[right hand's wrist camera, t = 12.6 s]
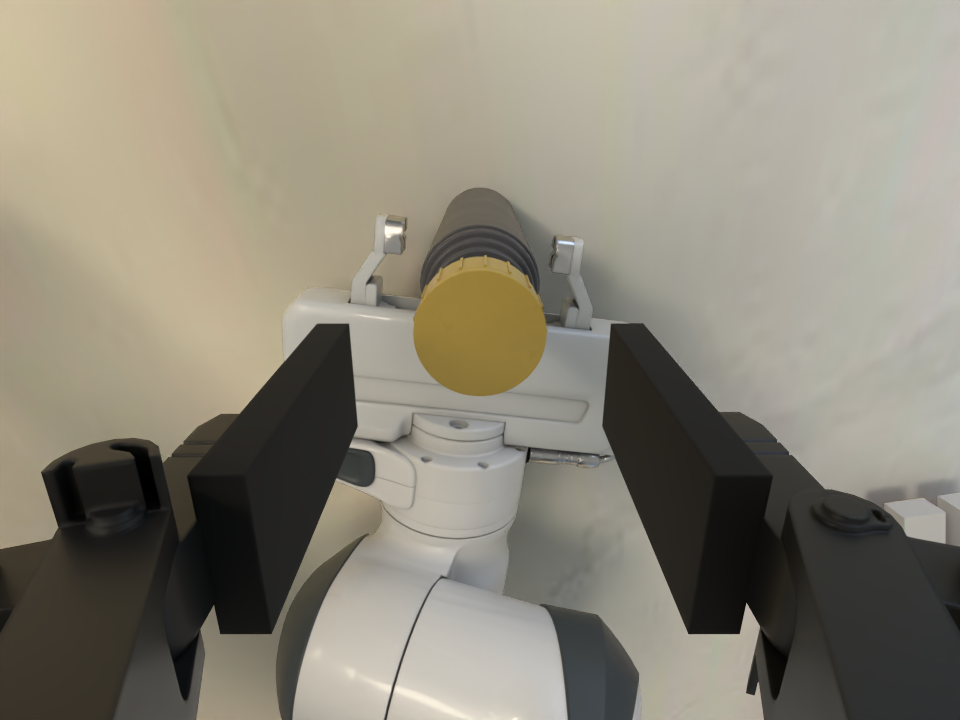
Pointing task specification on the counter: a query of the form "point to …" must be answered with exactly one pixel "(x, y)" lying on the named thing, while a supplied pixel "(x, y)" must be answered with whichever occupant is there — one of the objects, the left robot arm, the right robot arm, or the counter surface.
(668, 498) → the right robot arm
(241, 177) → the counter surface
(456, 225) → the bottle
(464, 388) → the cap
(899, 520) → the toy
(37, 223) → the counter surface
